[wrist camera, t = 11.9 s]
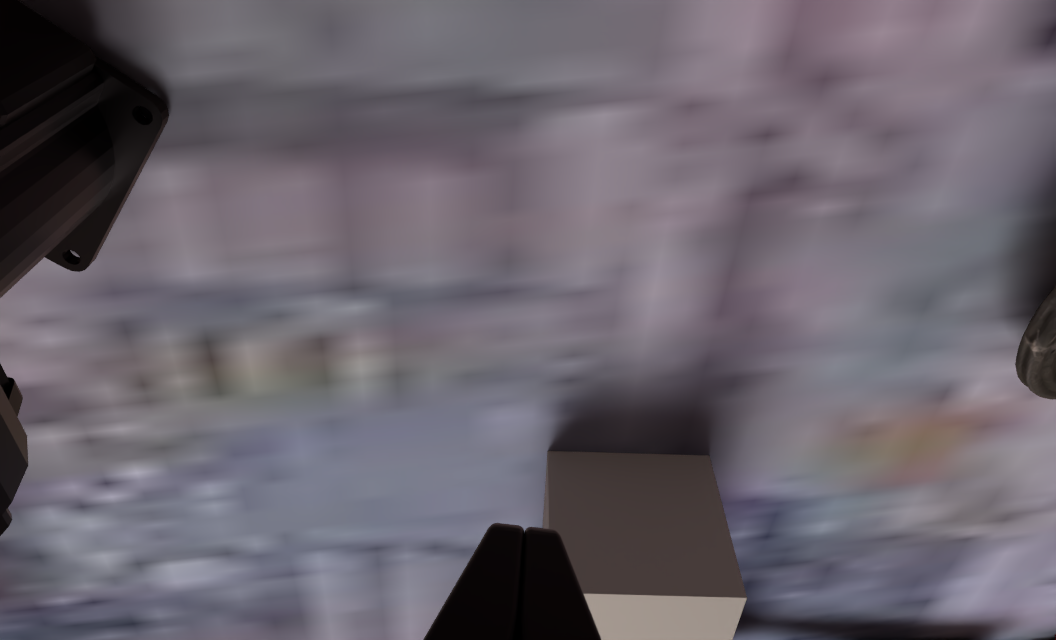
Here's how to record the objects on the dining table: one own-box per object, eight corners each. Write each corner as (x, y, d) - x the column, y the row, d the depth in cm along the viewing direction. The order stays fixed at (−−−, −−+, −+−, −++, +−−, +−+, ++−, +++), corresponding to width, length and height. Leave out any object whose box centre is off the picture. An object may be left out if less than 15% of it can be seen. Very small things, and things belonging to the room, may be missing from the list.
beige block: (540, 550, 30) (541, 693, 25) (547, 449, 27) (550, 592, 22) (683, 554, 30) (711, 698, 26) (708, 453, 27) (746, 597, 22)
